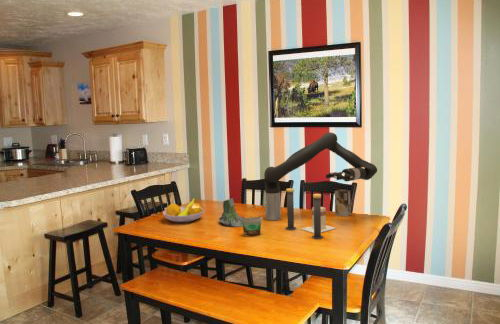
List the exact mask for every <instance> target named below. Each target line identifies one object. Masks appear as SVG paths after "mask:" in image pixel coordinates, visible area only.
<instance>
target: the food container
mask: <svg viewBox="0 0 500 324" xmlns="http://www.w3.org/2000/svg"><path fill="white" fill-rule="evenodd" d="M245 218H246V217H244V218H241V221H242V224H243V227H242V229H243V235H244V236H247V237H257V236H259V235H261V228H262V221H263V217H262V215H260V216H258V217H254V216H252V217H251V216H250V217H247V218H246V219H245Z"/></svg>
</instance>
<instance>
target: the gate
mask: <svg viewBox="0 0 500 324" xmlns="http://www.w3.org/2000/svg"><path fill="white" fill-rule="evenodd" d="M294 190H295V189H294V188H286V189H285V191H286V202H287V203H286V205H287V206H286V207H287V208H286V210H287V213H286V215H287V226H286V227H285V230H286V231H295V229H296V230H297V227H295V220H294V219H295V218H294V217H295V215H294V213H295V211H294V207H295V206H294V204H295V203H294V192H295V191H294ZM312 197H313V207H314V234H313V235H312V236H311V239H313V238H314V239H313V240H323V239H324V235H322V233H321V207H322V205H321V200H322V199H321V198H322V194H321V193H313V194H312ZM322 238H323V239H322Z"/></svg>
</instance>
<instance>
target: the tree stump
mask: <svg viewBox="0 0 500 324" xmlns="http://www.w3.org/2000/svg"><path fill="white" fill-rule="evenodd" d="M222 204H223V205H222V208H223V209H222V210H223V212H222V214H221V216H220V217H219V218H218V219H219V222H220V223H222V224H223V225H224V226H225V227H229V228H230V227H231V228H241V227H242V228H243V224H242V221H241V218H245V219H246V217H244V216H240V215H239V213H238V212H236V208H235V207H236V204H235V202H234V199H233V197H232V198H229V199H228V198H227V199H225V200H223V203H222Z"/></svg>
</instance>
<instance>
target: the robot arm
mask: <svg viewBox="0 0 500 324" xmlns="http://www.w3.org/2000/svg"><path fill="white" fill-rule="evenodd" d="M326 149H327V150H328V151H330V152H332V153H333V154H335V155H337V156H339V157H340V158H341V159H343V160H344V161H346V162H347V163H348V164H349V165H350V166H351V167H350V168H344V169H342V170H341V171H339V172H337V171H335V172H329V173H327V174H325V178H326V179H333V178H334V179H336V181H341V180H343V181H344V182H352V181H357V180H363V181H369V180H371V179H372V178H373V177H374V176H375V174H377V172H378V168H377V166H376V165H375V164H374V163H371V162H368V161H366V160H365V159H363V158H361V157H360V156H359V155H358V154H356V153H355V152H352V151H351V150H349V149H346V148H345V147H344V146H342V145H341V144H340V143H339V142H338V136H337V134H336V133H334V132H326V133H325V134H323V135H322V136H321V137H319V138H318V139H317V140H315V141H314V142H312V143H310V144H308V145H306V146H304V147H302V148H300V149H299V150H297V151H296V152H294V153H292V154H291V155H290V156H289V157H288V158H287V159H286V160H285V161H283V162H282V163H280V164H278V165H276V166H268V167H266V169H265V170H264V173H263V175H264V177H263V179H264V189H265V204H264V211H265V217H264V218H265V219H266V220H267V221H279V220H281V219H282V218H281V217H282V216H281V215H282V214H281V211H282V209H281V208H282V207H281V187H280V180H281V179H282V178H284V177H286V175H288V174H289V173H291V172H292V171H295V170H297V169H299V168H300V167H301V166H303V165H305V164H307V163H309V162H310V161H311V160H313V159H314V158H315V157H317V156H318V154H319V153H321V152H323V151H325V150H326Z"/></svg>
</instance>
